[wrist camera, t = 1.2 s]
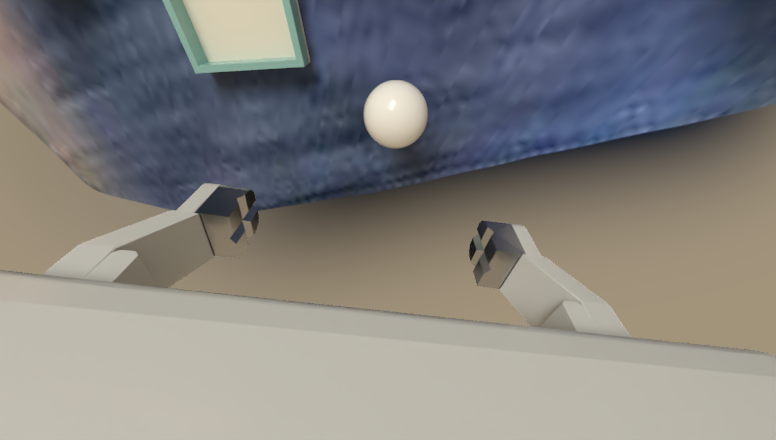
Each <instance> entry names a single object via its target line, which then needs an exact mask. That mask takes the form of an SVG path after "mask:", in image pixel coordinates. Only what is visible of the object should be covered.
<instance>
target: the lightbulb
mask: <svg viewBox="0 0 776 440" xmlns="http://www.w3.org/2000/svg"><path fill="white" fill-rule="evenodd" d="M427 119H428V109H427V104H426V101H425V99H424V97H423V95H422V93H421V92H420V91H419V90H418V89H417V88H416V87H415V86H414V85H412V84H410V83H408V82H406V81H402V80H390V81H386V82H384V83H382V84H380V85H378V86H377V87H376V88H375V89H374V90H373V91H372V92H371V93H370V95H369V96H368V98H367V100H366V103H365V106H364V123H365V126H366V129H367V131H368V133H369V134H370V136H371V137H372V138H373V139H374V140H375V141H376V142H377V143H379V144H380V145H382V146H385V147H388V148H394V149H396V148H403V147H406V146H409V145H411V144H412V143H414V142H415V141H416V140H417V139H418V138H419V137H420V136H421V134H422V133H423V131H424V129H425V127H426V124H427Z"/></svg>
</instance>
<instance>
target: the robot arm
mask: <svg viewBox="0 0 776 440" xmlns="http://www.w3.org/2000/svg"><path fill="white" fill-rule="evenodd" d="M255 201H256V198H255V193H254V191H252V190H251V189H244V188H238V187H231V186H225V185H217V184H210V183H206V184H203V185H202V186H201V187H200V188H199V189H198V190H197V191H196V192H195V193H194V194H193V195H192V196H191V197H189V198H188V199H187V200H186V201H185V202H184V203H183V204H182V205H181V206H180V207H179V208H178V209H177V210H176V211H173V210H170V211H168V212H165V213H162V214H159V215H157V216H154V217H151V218H149V219H146V220H143V221H141V222H138V223H135V224H133V225H130V226H127V227H124V228H121V229H119V230H116V231H113V232H111V233H108V234H105V235H103V236H100V237H97V238H94V239H92V240H89V241H86V242H84V243H81V244H79V245H78V246H77V247H75V248H74V249H73V250H72V251H70V253H68V254H67V255H65V256H64V257H63V258H62V259H60V260H59V261H58V262H57V263H55V264H54V265H53V266H52V267H50V268H49V269H48V270H47V271H45V272H44V273H43V274H42V275H41V274H32V273H23V272H13V271H4V270H0V440H776V356H774V355H771V354H768V353H765V352H760V351H755V350H748V349H738V348H728V347H718V346H709V345H699V344H690V343H680V342H671V341H662V340H652V339H643V338H633V337H630V335H629V334H628V332H627V331H626V330H625V328H624V326H623V325H622V323H621V322H620V320H619V319H618V317H617V316H616V314H615V313H614V311H613V310H612V308H611V307H610V305H609V304H608V303H606V302H605V301H604V300H602V299H601V298H600V297H598V296H597V295H596V294H594V293H593V292H591V291H590V290H589V289H588V288H586V287H585V286H584V285H582V284H581V283H580V282H578V281H577V280H576V279H574V278H573V277H572V276H570V275H569V274H568V273H566V272H565V271H563V270H562V269H561V268H559V267H558V266H557V265H555V264H554V263H553V262H551V261H550V260H549V259H547V258H546V257H541V255H540V253H539V251H538V249H537V247H536V246H535V244H534V242H533V240H532V238H531V236H530V235H529V233H528V231H527V229H526V227H525V226H523V225H518V224H505V223H497V222H489V221H481V222H480V223H479V226H478V228H477V230H478V235H476V236H475V237H473V239H472V241H471V243H470V249H469V257H470V261H471V263H472V264H473V265H475V268H474V270H473V272H474V276H475V279H476V283H477V286H483V287H491V288H498V289H500V291H501V292H502V293H503V294H504V296H505V297H506V298H507V299H508V300H509V302H510V303H511V304H512V305H513V306H514V307H515V309H516V310H517V311H518V312H519V313H520V314H521V316H522V317H523V318H524V319H525V320H526V321H527V323H528V324H529V325H530V326H531V327H530V326H520V325H511V324H502V323H492V322H483V321H473V320H464V319H455V318H445V317H436V316H426V315H417V314H408V313H399V312H389V311H380V310H370V309H361V308H351V307H341V306H333V305H324V304H314V303H304V302H295V301H286V300H276V299H267V298H258V297H247V296H239V295H229V294H220V293H211V292H201V291H192V290H183V289H173V288H168V287H170V286H171V285H173V284H174V283H176V282H177V281H179V280H180V279H182V278H183V277H185V276H186V275H188V274H189V273H191V272H192V271H194V270H195V269H197V268H198V267H200V266H201V265H203V264H204V263H206V262H207V261H209V260H210V259H212V258H213V257H214V256H222V257H233V258H240V257H241V256H242V254H243V252H244V251H245V249H246V247H247V246H248V240H247V239H248V238H250V237H252V236H253V235H254V234H255V232H256V230H257V227H258V223H259V214H258V210H257V209H256V208H255V207H254V205H253V204H254V202H255Z"/></svg>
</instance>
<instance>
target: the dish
mask: <svg viewBox="0 0 776 440" xmlns="http://www.w3.org/2000/svg"><path fill="white" fill-rule="evenodd" d="M162 1H163V3H164V5H165V7H166V9H167V12H168V14H169V16H170V18H171V20H172V22H173V25H174V27H175V29H176V31H177V33H178V36H179V38H180V40H181V42H182V44H183V47H184V49H185V51H186V53H187V55H188V58H189V60H190V62H191V64H192V66H193V69H194V71H195V73H210V72H227V71H243V70H260V69H277V68H293V67H305V66H306V65H307V64H308V63H310V62H311V61H310V56H309V51H308V47H307V42H306V37H305V33H304V28H303V23H302V18H301V14H300V9H299V4H298V0H162Z"/></svg>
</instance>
